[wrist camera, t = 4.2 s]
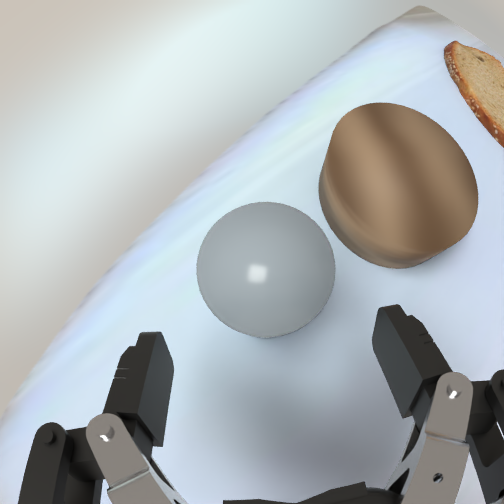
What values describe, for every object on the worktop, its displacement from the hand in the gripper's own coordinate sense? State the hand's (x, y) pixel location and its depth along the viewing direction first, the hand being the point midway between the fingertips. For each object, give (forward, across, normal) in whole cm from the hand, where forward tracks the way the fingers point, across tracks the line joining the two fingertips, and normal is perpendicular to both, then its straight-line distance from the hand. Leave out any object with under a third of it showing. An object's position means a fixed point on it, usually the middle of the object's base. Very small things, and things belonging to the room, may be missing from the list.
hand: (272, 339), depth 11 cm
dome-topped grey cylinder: (+9, 0, +5) cm, 10 cm away
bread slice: (+25, -34, -11) cm, 44 cm away
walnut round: (+14, -11, 0) cm, 18 cm away
